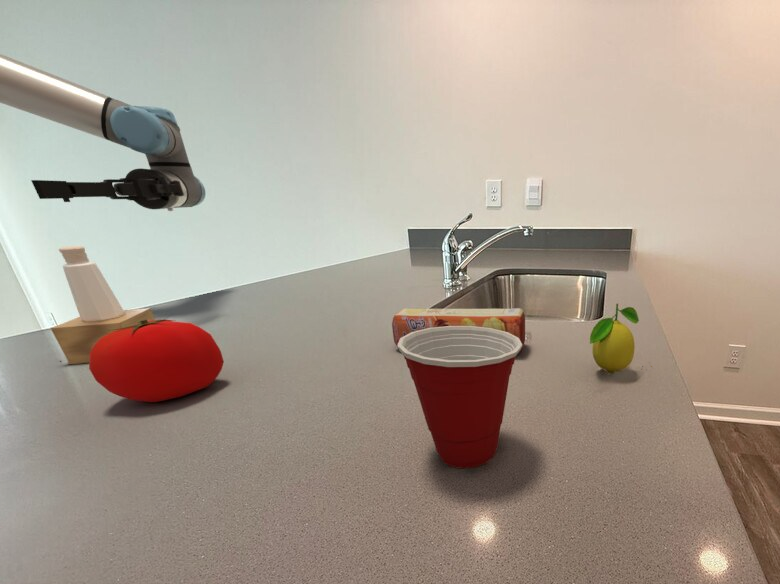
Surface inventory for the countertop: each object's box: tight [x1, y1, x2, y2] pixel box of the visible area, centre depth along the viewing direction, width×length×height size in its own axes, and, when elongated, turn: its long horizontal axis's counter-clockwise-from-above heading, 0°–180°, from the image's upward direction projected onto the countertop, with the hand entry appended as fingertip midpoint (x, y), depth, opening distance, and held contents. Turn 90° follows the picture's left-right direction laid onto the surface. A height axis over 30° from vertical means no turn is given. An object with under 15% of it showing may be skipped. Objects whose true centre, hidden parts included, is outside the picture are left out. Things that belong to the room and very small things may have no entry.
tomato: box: [88, 317, 225, 403], centre depth 52 cm, size 11×13×10 cm
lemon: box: [589, 303, 640, 375], centre depth 55 cm, size 7×6×10 cm
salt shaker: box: [58, 245, 125, 322], centre depth 64 cm, size 5×5×11 cm
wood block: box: [50, 307, 156, 365], centre depth 68 cm, size 9×9×6 cm
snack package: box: [391, 307, 526, 355], centre depth 65 cm, size 21×7×7 cm, turn 79°
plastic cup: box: [396, 326, 523, 469], centre depth 38 cm, size 11×11×12 cm
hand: (88, 188), depth 67 cm, fingers open, 13 cm apart
